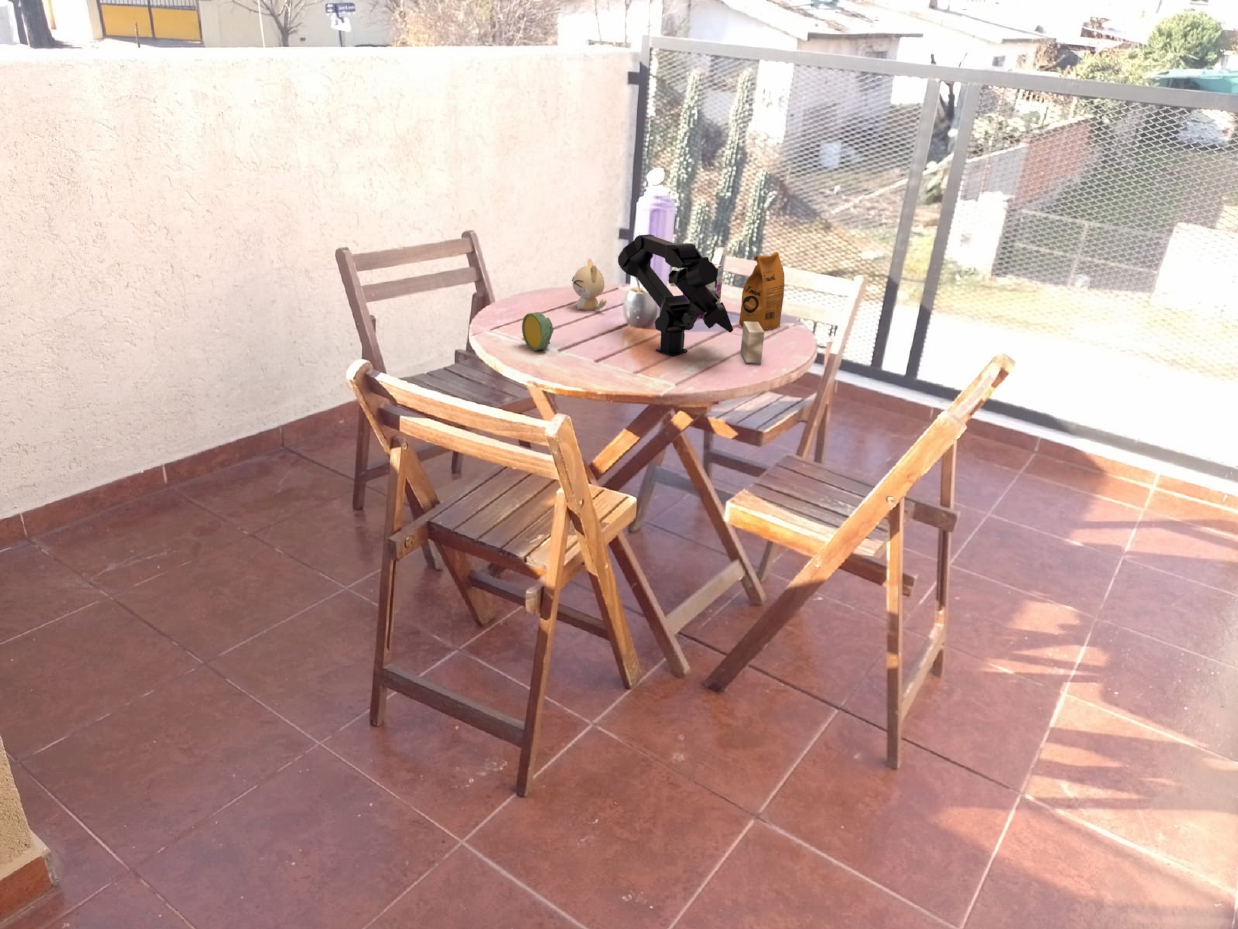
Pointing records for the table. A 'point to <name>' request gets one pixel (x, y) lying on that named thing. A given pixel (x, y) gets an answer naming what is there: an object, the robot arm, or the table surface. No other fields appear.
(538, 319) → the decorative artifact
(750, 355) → the marked block
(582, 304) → the kitten
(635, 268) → the robot arm
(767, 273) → the coffee package
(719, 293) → the candy bar box
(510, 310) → the table surface
